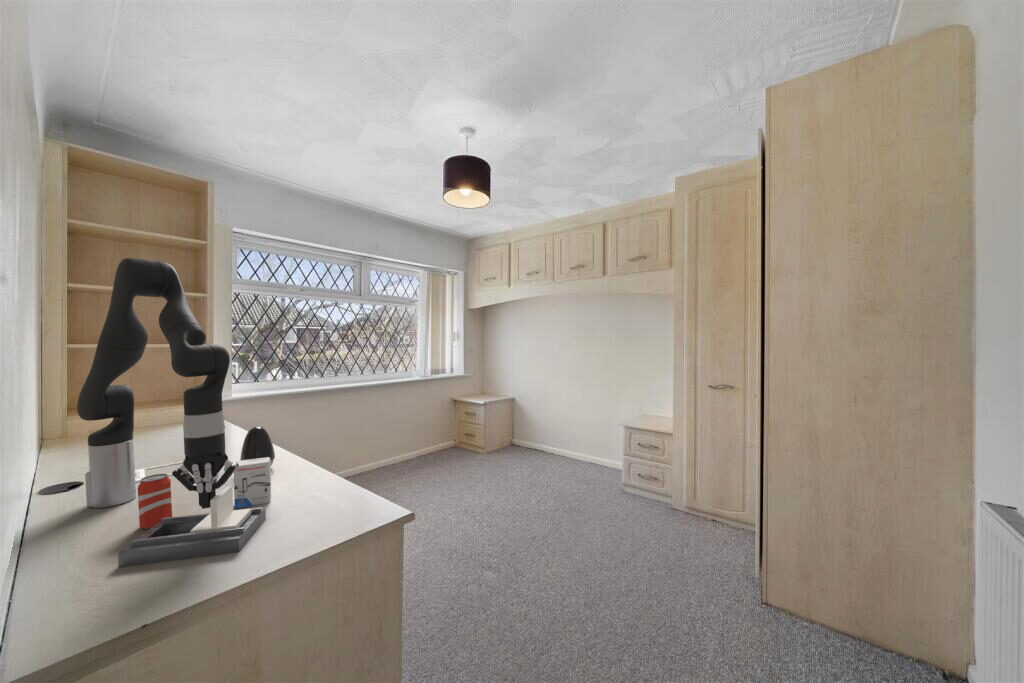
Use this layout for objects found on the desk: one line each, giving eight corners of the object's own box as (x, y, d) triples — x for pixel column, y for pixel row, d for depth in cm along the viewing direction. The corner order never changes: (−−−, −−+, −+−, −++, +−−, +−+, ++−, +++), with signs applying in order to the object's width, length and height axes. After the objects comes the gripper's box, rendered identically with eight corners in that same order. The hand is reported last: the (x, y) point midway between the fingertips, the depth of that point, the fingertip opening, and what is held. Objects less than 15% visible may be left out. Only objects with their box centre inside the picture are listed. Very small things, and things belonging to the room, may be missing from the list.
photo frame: (123, 471, 140) (189, 459, 153) (123, 474, 140) (189, 462, 153) (123, 482, 130) (194, 468, 142) (123, 486, 130) (194, 471, 142)
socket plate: (118, 567, 84) (117, 548, 83) (165, 530, 99) (164, 513, 99) (239, 551, 89) (238, 533, 88) (265, 518, 104) (265, 503, 104)
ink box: (233, 509, 110) (232, 466, 110) (236, 502, 114) (234, 461, 114) (270, 502, 114) (269, 461, 114) (271, 496, 118) (270, 456, 118)
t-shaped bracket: (190, 536, 89) (189, 503, 89) (211, 517, 98) (209, 487, 98) (235, 530, 91) (234, 498, 91) (251, 513, 100) (250, 483, 100)
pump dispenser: (278, 463, 148) (276, 422, 147) (271, 473, 138) (269, 428, 138) (246, 467, 145) (244, 424, 144) (236, 477, 135) (234, 431, 134)
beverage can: (160, 517, 106) (158, 472, 106) (178, 520, 104) (176, 474, 104) (133, 528, 100) (131, 480, 100) (151, 532, 98) (149, 482, 98)
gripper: (160, 438, 88) (164, 517, 89) (229, 433, 91) (232, 510, 92) (180, 430, 95) (183, 503, 96) (243, 426, 98) (246, 497, 99)
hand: (207, 506), depth 94 cm, fingers closed
